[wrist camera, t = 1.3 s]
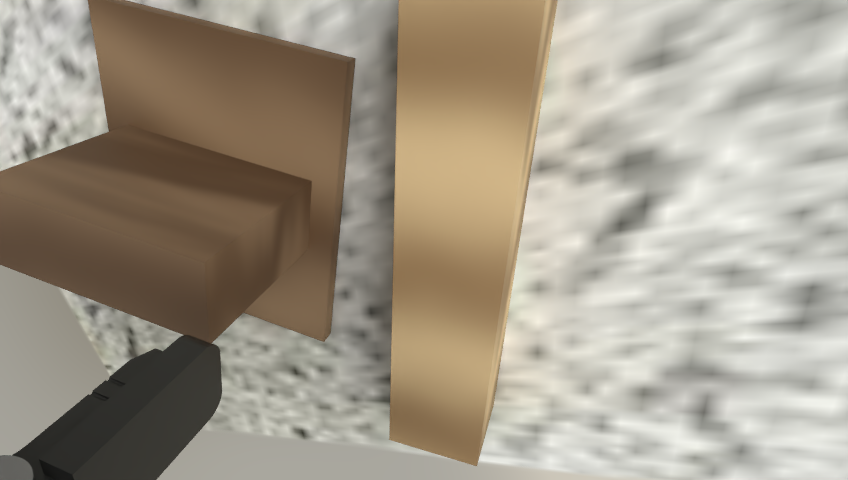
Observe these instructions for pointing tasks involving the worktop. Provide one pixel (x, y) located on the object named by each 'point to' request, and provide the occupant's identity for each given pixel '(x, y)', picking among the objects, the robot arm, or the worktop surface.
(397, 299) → the oak rod
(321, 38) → the worktop surface
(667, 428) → the worktop surface
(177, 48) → the walnut fulcrum
